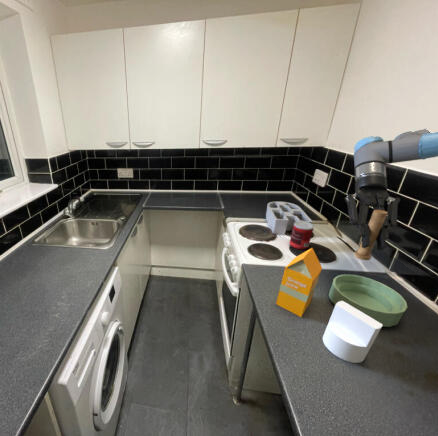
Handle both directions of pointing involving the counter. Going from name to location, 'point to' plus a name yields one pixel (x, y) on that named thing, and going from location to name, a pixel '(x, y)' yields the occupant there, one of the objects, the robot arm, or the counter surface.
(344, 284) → the bowl
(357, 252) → the muddler
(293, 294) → the orange juice
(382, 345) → the counter surface
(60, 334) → the counter surface
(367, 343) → the base with upright slab
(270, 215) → the grey compartment organizer
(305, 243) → the canned food
